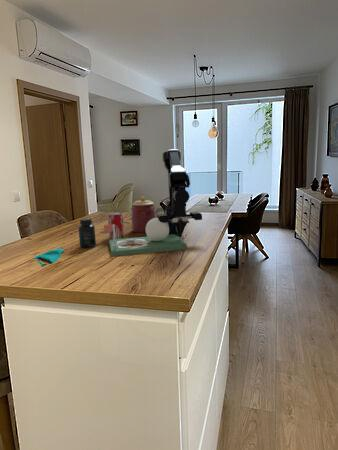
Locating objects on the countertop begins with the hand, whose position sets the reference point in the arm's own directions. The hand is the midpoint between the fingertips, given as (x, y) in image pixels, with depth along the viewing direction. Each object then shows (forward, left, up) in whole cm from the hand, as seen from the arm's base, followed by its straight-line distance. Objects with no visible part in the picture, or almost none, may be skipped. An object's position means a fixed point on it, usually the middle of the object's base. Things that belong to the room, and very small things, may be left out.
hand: (179, 236), depth 144 cm
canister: (+11, -33, -3) cm, 35 cm away
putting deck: (+15, 0, -3) cm, 15 cm away
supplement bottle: (+39, -9, -3) cm, 40 cm away
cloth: (+53, +3, -4) cm, 53 cm away
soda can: (+26, -20, -3) cm, 33 cm away
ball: (+10, 0, +4) cm, 10 cm away
